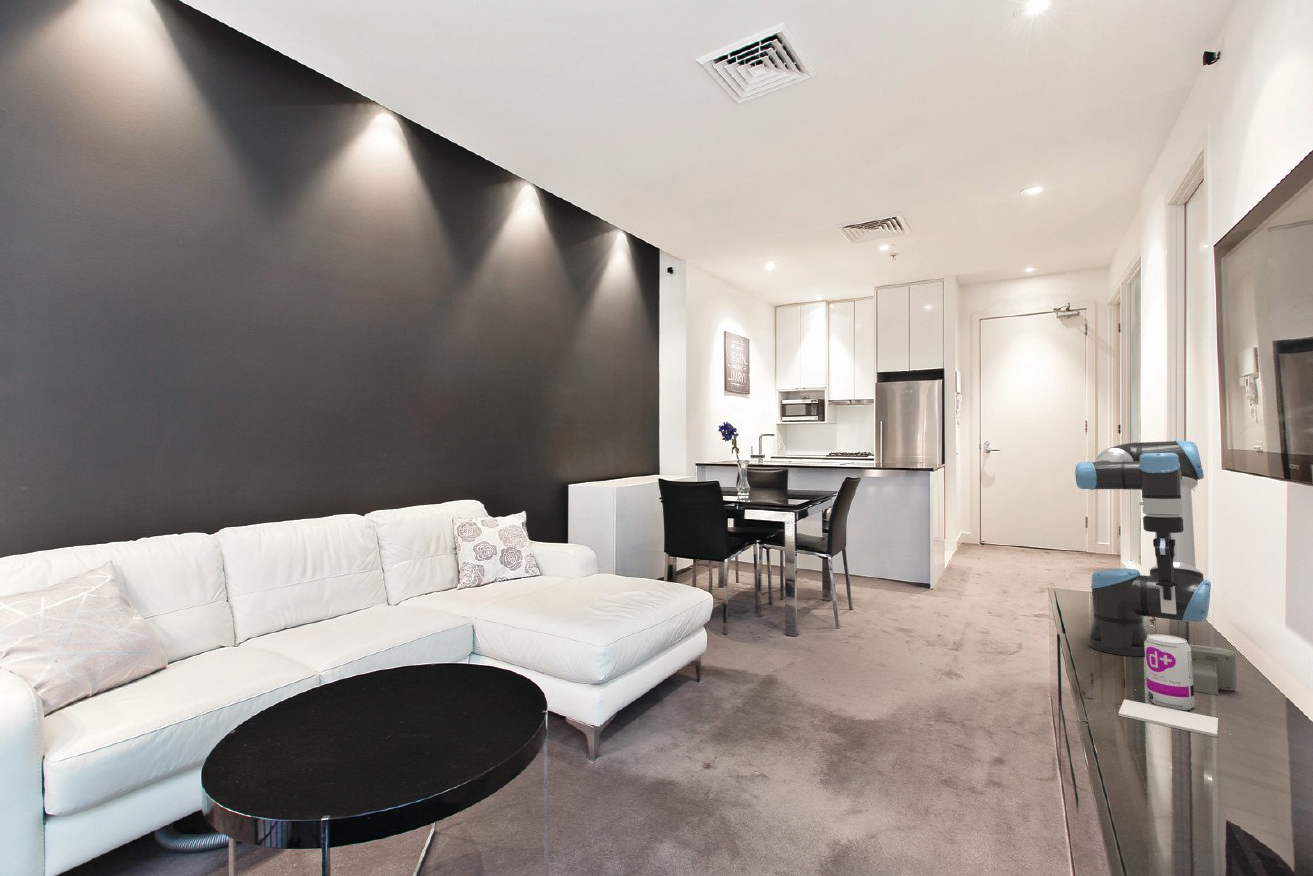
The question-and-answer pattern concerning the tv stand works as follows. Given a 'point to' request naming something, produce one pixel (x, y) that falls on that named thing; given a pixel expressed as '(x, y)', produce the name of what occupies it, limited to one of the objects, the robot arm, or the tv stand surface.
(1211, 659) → the digital clock
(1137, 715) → the mat
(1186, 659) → the supplement can
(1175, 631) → the tv stand surface
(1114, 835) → the tv stand surface
